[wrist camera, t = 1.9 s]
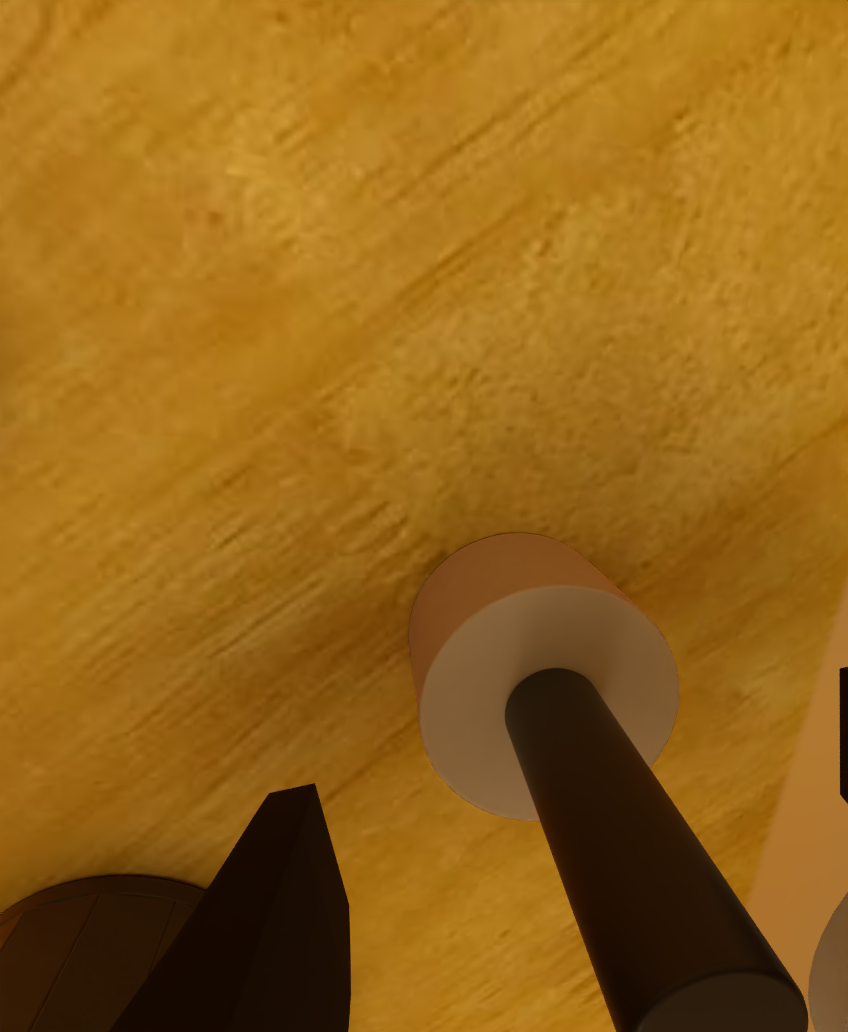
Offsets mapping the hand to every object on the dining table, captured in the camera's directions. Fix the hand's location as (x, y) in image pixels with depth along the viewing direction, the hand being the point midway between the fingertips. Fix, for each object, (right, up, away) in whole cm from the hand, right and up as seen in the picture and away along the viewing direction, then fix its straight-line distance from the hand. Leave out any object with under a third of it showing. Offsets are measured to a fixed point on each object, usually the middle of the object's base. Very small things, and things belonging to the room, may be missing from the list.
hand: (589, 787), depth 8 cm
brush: (0, +1, +5) cm, 5 cm away
